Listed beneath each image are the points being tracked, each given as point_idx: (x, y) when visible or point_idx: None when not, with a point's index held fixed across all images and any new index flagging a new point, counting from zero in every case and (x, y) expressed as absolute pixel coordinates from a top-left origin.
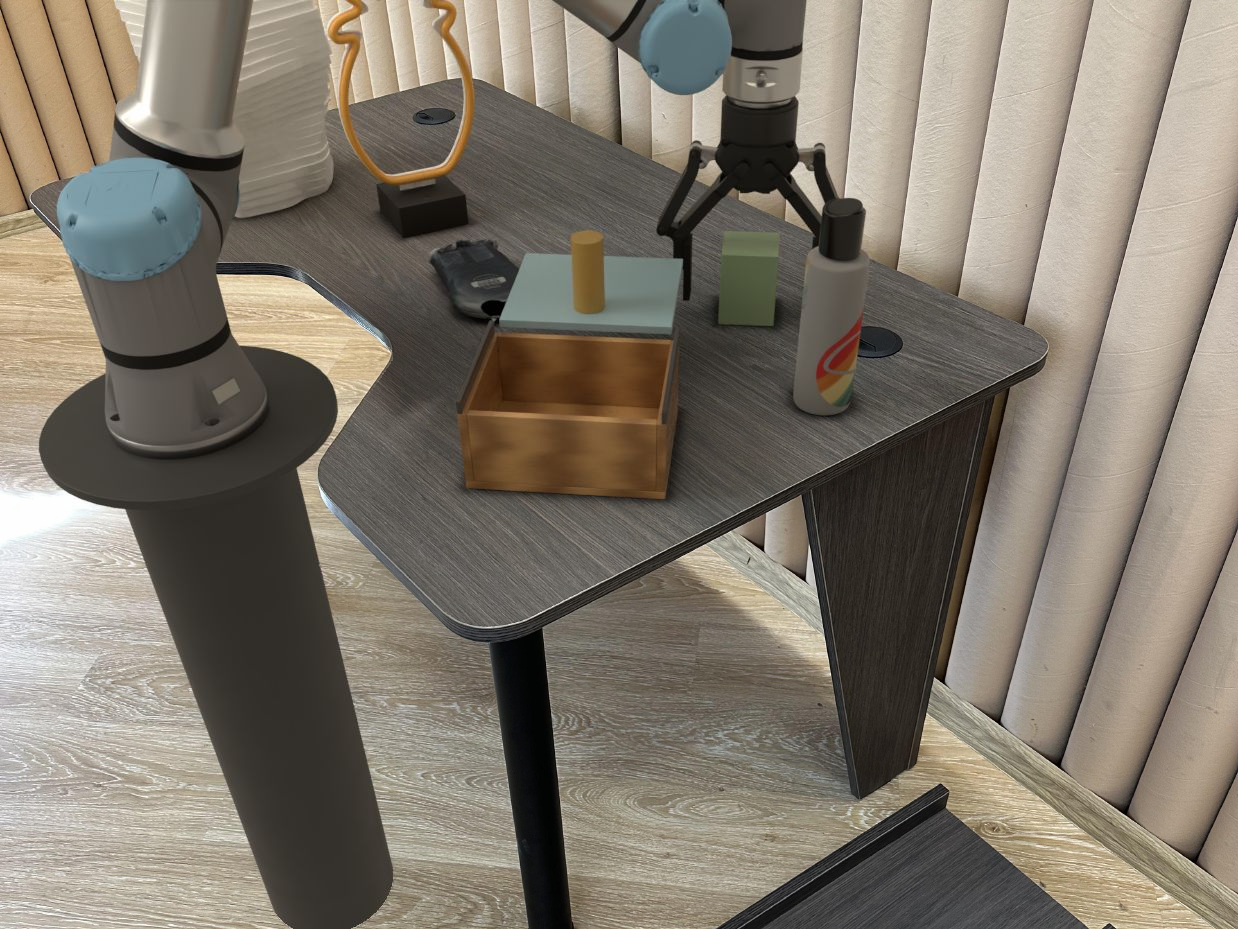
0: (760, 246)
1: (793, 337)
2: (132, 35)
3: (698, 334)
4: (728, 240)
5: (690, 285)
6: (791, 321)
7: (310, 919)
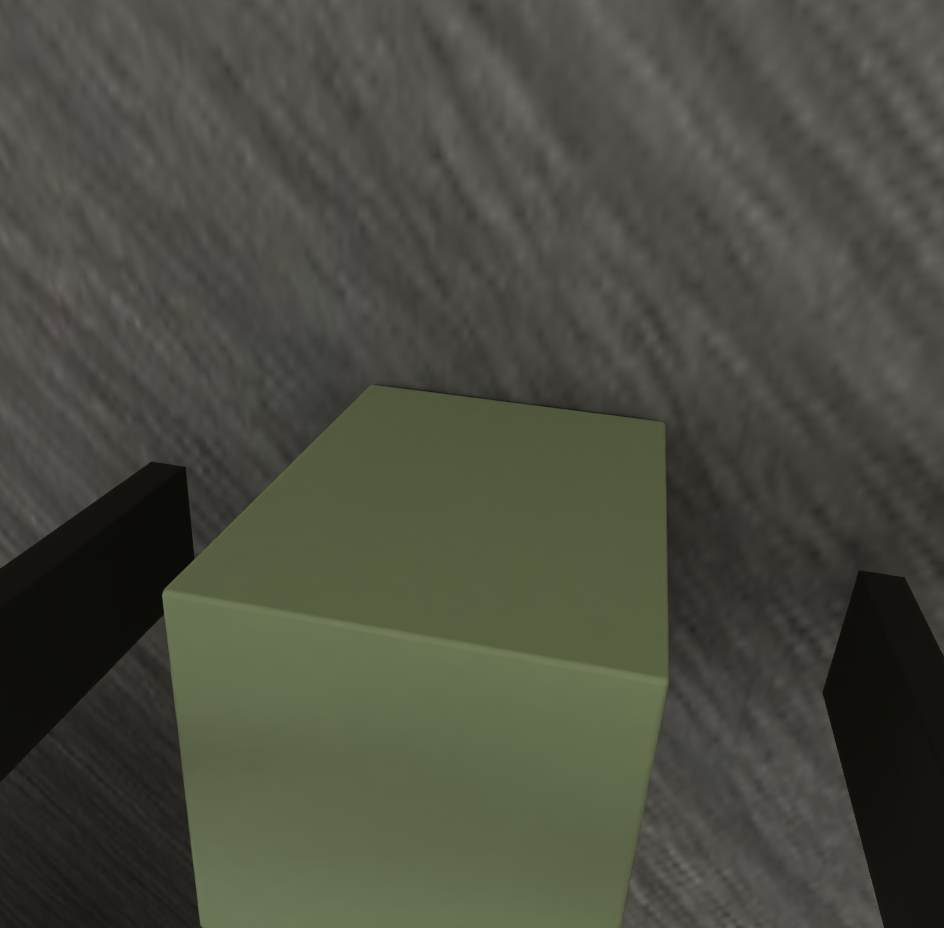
0: (470, 879)
1: (707, 759)
2: None
3: None
4: (218, 758)
5: (158, 569)
6: (726, 630)
7: None
